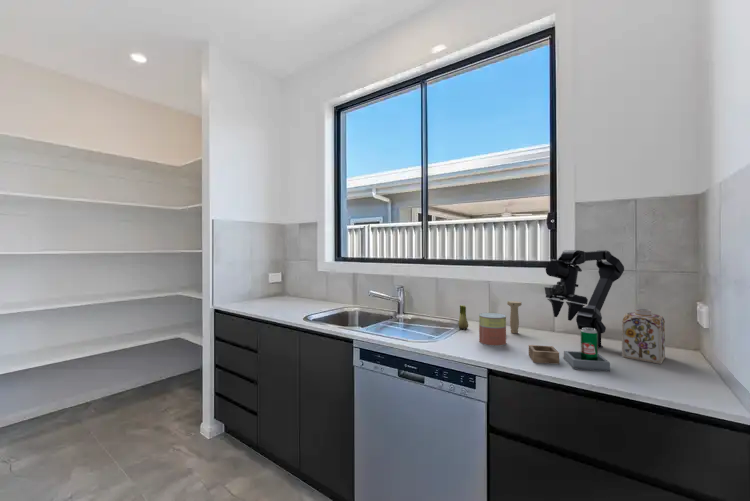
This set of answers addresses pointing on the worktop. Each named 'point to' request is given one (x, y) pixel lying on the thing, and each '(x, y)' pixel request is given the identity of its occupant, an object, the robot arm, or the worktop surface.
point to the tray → (586, 362)
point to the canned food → (492, 329)
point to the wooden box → (543, 354)
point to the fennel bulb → (463, 318)
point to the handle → (514, 315)
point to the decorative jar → (643, 336)
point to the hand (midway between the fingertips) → (562, 318)
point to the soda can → (589, 344)
